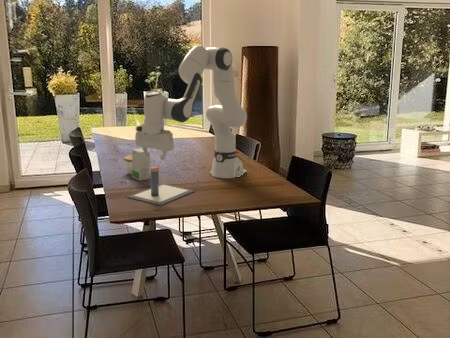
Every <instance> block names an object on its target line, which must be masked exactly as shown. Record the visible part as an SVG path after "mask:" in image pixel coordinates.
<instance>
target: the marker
mask: <svg viewBox="0 0 450 338" xmlns="http://www.w3.org/2000/svg"><path fill="white" fill-rule="evenodd" d="M159 170H160V168H159V166H151V167H150V188H151V196H153V197H156V196H159V185H160V183H159V181H160V180H159V177H160V175H159V173H160V171H159Z"/></svg>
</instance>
